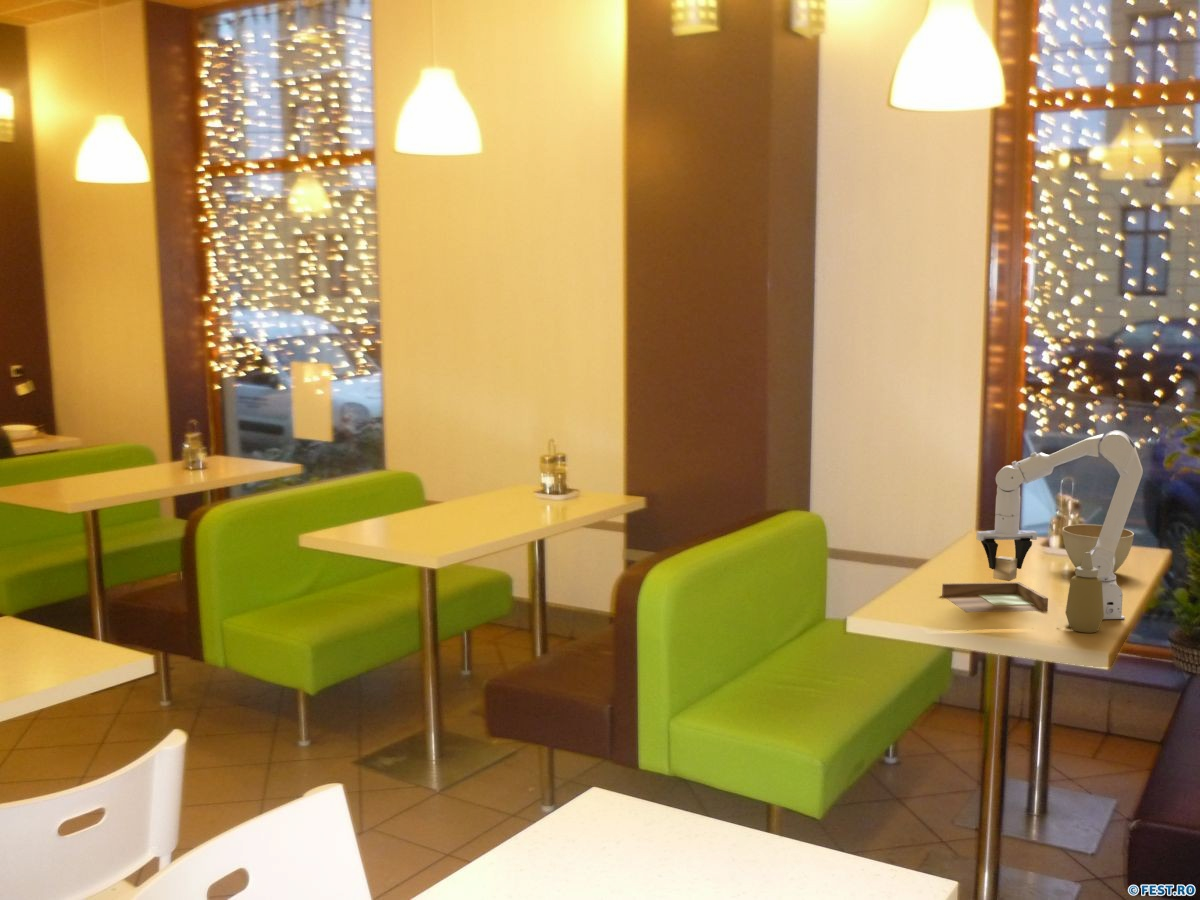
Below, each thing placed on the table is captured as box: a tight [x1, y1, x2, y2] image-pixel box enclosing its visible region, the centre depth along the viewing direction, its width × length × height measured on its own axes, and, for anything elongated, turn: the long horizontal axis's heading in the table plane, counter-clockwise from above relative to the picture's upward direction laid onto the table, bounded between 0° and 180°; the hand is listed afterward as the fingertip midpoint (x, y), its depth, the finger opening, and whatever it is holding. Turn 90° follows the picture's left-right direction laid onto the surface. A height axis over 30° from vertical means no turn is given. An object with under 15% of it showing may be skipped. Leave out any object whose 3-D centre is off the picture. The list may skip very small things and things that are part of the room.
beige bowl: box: [1062, 524, 1135, 574], centre depth 312 cm, size 18×18×12 cm
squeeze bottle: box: [1065, 552, 1104, 633], centre depth 257 cm, size 8×8×18 cm
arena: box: [941, 581, 1049, 613], centre depth 279 cm, size 16×20×4 cm
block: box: [992, 555, 1018, 582], centre depth 280 cm, size 4×4×5 cm
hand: (1005, 568), depth 281 cm, fingers closed on block, 6 cm apart
